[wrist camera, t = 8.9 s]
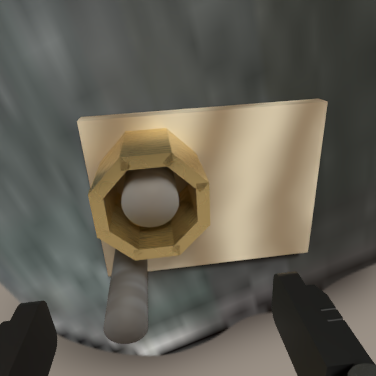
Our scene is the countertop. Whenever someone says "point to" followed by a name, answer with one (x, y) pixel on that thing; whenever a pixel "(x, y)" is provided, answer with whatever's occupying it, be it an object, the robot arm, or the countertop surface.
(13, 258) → the countertop surface
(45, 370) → the robot arm
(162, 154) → the brass collar
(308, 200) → the maple board
